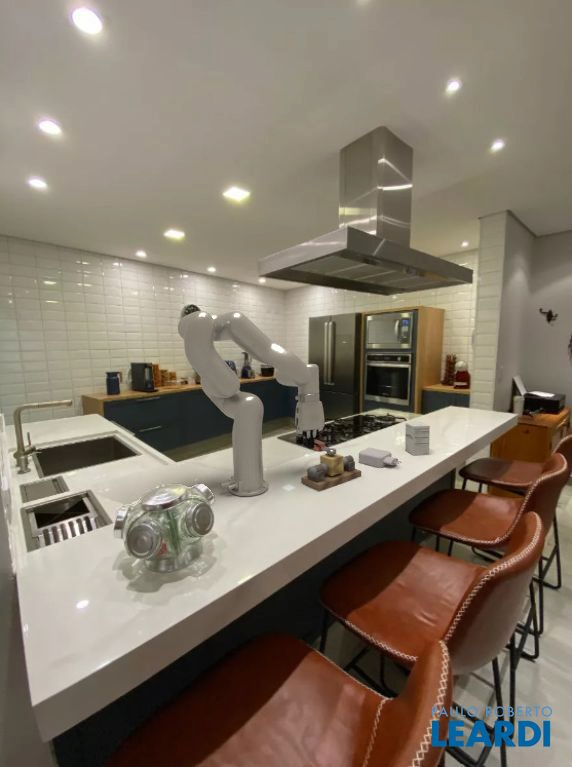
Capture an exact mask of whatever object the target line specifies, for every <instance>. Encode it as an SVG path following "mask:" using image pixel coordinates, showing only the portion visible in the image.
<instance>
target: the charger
mask: <svg viewBox="0 0 572 767" xmlns="http://www.w3.org/2000/svg"><path fill="white" fill-rule="evenodd" d="M392 456H393V455H392V453H391V451H387V450H383V449H378V448H374V447H367V448H365V449H362V450H360V451H359V452H358V463H360V464H363V465H368V466H371V467H374V468H380V469H381V468H383V467H385V466H387V465H388V466H389V465H391V466H395V465H397V464H398V465H400V463H402V461H400V460H399V459H398V458H396V457H392Z"/></svg>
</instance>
